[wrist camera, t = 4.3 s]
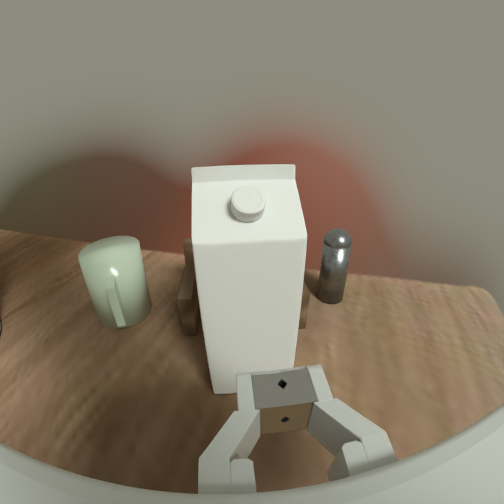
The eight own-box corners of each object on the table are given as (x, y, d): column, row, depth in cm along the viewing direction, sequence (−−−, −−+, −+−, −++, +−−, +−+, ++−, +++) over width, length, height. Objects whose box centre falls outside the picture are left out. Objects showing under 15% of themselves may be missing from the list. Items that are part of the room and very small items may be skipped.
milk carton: (212, 343, 29) (195, 161, 21) (276, 338, 30) (283, 158, 22) (213, 395, 23) (186, 177, 15) (290, 387, 24) (311, 173, 16)
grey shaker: (321, 305, 36) (330, 235, 31) (313, 290, 39) (320, 224, 35) (346, 302, 36) (358, 234, 32) (337, 288, 39) (346, 224, 35)
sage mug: (96, 347, 28) (70, 281, 24) (98, 299, 36) (82, 242, 32) (159, 334, 31) (143, 266, 27) (148, 289, 39) (137, 231, 35)
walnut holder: (183, 334, 31) (172, 274, 27) (191, 290, 39) (184, 238, 35) (305, 328, 32) (312, 268, 28) (289, 286, 40) (293, 234, 36)
